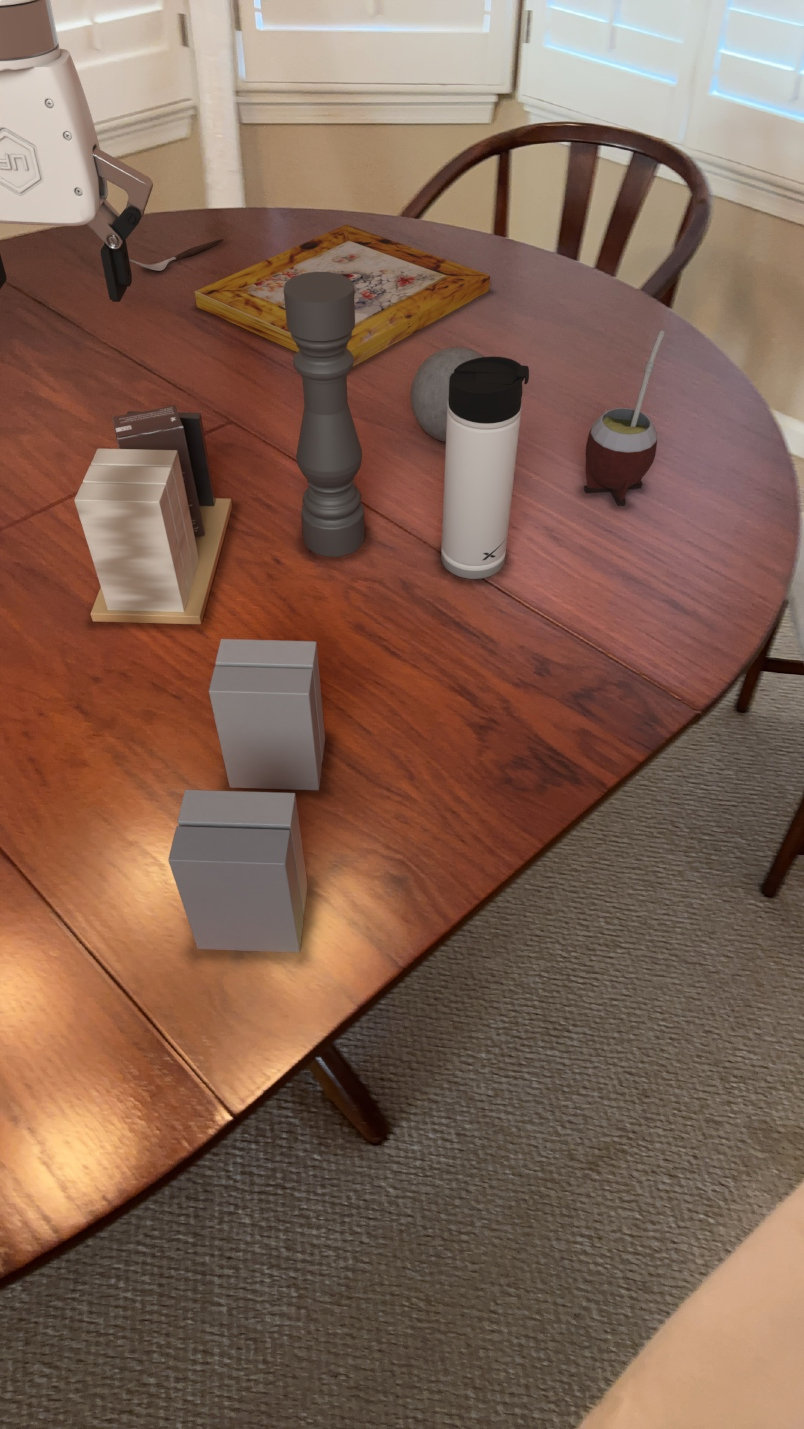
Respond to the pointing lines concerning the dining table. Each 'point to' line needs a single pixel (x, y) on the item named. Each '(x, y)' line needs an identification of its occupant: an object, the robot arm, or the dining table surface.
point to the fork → (179, 256)
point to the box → (161, 446)
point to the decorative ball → (436, 388)
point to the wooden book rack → (152, 531)
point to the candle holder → (326, 411)
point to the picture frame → (387, 289)
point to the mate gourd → (622, 445)
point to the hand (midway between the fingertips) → (58, 291)
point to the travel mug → (480, 464)
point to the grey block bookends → (253, 800)
